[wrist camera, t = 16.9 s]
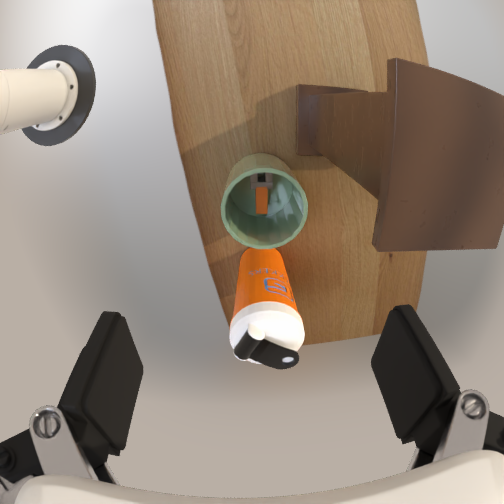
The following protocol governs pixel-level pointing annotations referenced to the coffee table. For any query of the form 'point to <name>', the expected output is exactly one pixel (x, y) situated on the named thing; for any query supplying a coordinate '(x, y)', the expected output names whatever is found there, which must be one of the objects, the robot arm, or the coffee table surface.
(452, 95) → the stand
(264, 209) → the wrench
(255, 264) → the shaker bottle
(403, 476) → the robot arm
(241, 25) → the coffee table surface
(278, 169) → the green cup
